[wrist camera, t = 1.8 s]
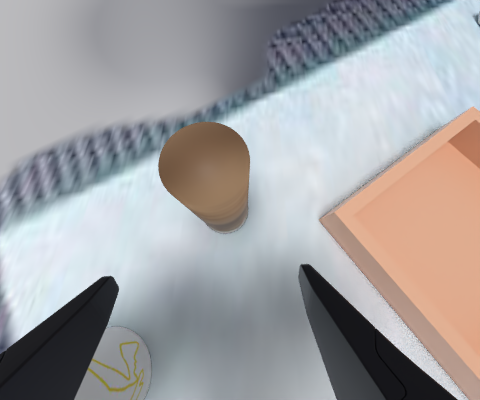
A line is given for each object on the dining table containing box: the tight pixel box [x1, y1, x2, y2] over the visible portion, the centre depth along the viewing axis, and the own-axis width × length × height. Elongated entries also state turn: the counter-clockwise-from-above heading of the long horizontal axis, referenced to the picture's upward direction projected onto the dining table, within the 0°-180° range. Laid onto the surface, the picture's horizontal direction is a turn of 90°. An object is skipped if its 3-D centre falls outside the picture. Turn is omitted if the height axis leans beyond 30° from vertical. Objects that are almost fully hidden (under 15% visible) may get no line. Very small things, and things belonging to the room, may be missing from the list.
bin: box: [319, 107, 480, 400], centre depth 19 cm, size 20×20×4 cm
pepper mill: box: [158, 122, 250, 234], centre depth 17 cm, size 5×5×12 cm
